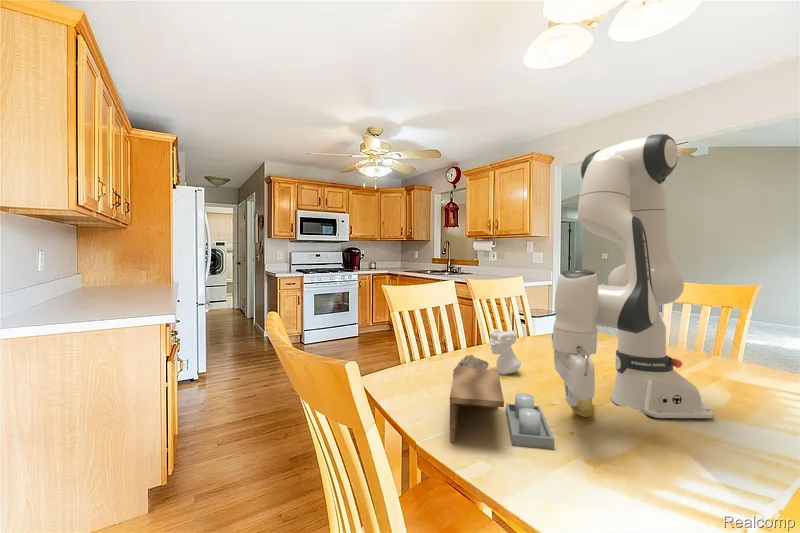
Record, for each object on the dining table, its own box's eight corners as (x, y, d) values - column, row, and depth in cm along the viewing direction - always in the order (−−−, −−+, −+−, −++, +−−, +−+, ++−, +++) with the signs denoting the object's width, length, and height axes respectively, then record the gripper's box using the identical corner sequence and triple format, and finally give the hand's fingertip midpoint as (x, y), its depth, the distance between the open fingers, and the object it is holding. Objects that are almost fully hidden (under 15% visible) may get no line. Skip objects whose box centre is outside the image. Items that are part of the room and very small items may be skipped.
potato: (571, 401, 100) (571, 383, 100) (593, 405, 97) (593, 386, 97) (568, 421, 87) (568, 401, 87) (593, 426, 85) (593, 405, 85)
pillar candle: (538, 431, 81) (538, 408, 81) (541, 440, 76) (542, 417, 76) (517, 429, 82) (518, 407, 82) (520, 438, 77) (520, 415, 77)
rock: (462, 385, 104) (468, 351, 108) (448, 384, 110) (454, 351, 113) (493, 395, 109) (498, 361, 113) (479, 393, 115) (483, 361, 118)
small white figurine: (526, 376, 121) (526, 331, 121) (500, 381, 116) (500, 334, 116) (505, 368, 130) (506, 327, 130) (480, 372, 125) (481, 329, 125)
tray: (539, 414, 91) (539, 406, 91) (554, 449, 74) (554, 438, 74) (505, 411, 93) (505, 403, 92) (512, 445, 76) (512, 434, 76)
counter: (497, 407, 95) (497, 369, 95) (503, 450, 74) (503, 401, 74) (455, 404, 98) (455, 367, 97) (449, 444, 76) (449, 397, 76)
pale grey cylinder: (532, 414, 90) (532, 394, 90) (535, 421, 86) (535, 400, 85) (514, 412, 91) (514, 392, 91) (516, 420, 86) (516, 399, 86)
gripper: (605, 355, 70) (601, 426, 70) (577, 334, 90) (574, 389, 90) (570, 352, 71) (566, 421, 71) (550, 332, 91) (547, 386, 91)
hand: (571, 403), depth 81 cm, fingers closed
